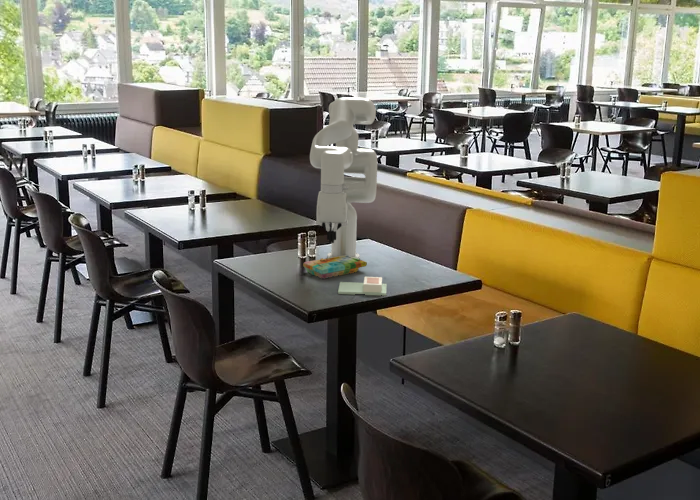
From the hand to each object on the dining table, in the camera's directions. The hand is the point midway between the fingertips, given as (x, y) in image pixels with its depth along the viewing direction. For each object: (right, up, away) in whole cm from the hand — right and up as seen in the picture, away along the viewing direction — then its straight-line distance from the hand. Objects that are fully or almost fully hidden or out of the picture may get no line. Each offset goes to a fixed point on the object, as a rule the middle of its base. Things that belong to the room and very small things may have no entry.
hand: (331, 241), depth 265 cm
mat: (+10, -16, +2) cm, 19 cm away
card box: (+11, -14, +1) cm, 18 cm away
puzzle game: (+1, -11, +22) cm, 25 cm away
